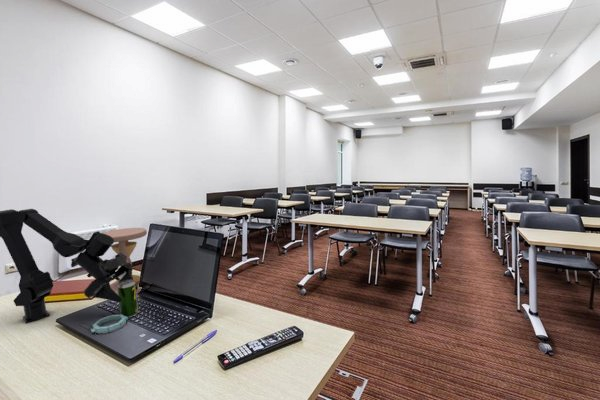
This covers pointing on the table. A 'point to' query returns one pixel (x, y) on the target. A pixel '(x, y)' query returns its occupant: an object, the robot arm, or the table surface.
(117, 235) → the hourglass
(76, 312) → the table surface
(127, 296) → the beer can
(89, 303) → the table surface
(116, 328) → the teal ring frame
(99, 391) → the table surface
